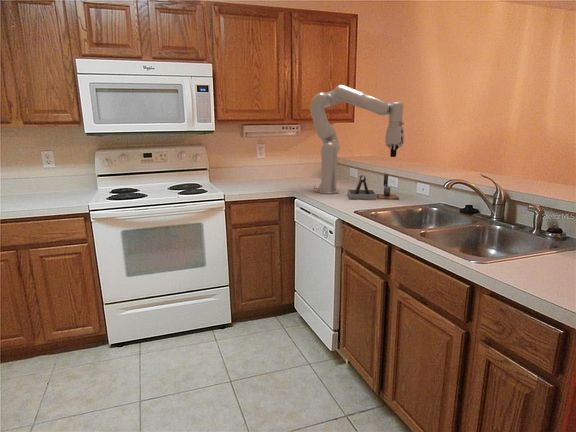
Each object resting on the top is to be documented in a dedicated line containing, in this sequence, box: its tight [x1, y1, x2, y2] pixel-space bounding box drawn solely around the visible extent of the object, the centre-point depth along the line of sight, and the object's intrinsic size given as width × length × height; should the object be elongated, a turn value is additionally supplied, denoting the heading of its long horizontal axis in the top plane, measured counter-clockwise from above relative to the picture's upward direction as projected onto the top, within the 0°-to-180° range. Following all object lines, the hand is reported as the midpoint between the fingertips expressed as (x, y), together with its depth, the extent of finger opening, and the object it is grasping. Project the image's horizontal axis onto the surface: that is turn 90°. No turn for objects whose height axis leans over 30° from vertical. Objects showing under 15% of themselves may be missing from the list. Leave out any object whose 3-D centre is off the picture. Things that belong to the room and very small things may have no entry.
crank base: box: [376, 193, 400, 201], centre depth 227 cm, size 12×12×1 cm
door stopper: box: [354, 174, 369, 194], centre depth 227 cm, size 9×6×12 cm, turn 85°
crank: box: [383, 173, 391, 196], centre depth 228 cm, size 10×4×12 cm, turn 176°
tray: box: [347, 189, 378, 201], centre depth 228 cm, size 15×16×3 cm
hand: (393, 156), depth 227 cm, fingers closed
